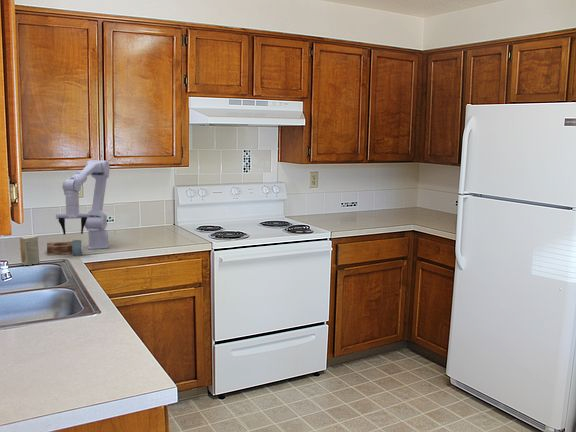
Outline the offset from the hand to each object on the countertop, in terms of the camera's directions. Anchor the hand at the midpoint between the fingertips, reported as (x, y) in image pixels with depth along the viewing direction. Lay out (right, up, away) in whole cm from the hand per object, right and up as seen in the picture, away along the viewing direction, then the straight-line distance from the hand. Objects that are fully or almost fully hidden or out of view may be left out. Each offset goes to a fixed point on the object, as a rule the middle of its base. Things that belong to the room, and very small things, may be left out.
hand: (73, 233), depth 267 cm
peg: (+1, -10, +3) cm, 11 cm away
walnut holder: (-10, -9, +9) cm, 16 cm away
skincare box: (-12, -13, -17) cm, 25 cm away
